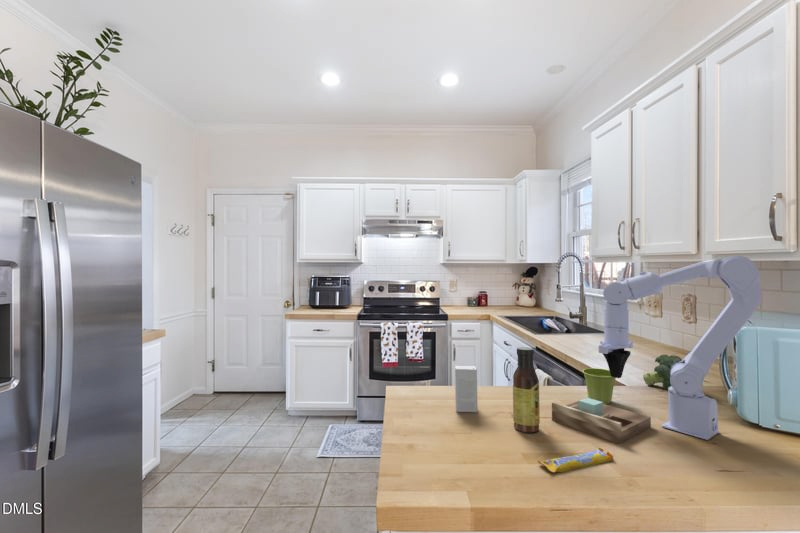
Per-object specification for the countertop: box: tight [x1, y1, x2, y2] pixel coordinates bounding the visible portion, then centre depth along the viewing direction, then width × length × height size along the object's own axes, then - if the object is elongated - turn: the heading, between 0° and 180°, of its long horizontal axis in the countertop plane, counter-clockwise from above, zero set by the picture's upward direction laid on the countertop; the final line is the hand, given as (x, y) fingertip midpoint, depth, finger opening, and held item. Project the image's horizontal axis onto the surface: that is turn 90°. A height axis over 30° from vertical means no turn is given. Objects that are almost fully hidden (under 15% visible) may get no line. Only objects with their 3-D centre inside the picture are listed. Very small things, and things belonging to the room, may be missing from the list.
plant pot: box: [582, 367, 617, 405], centre depth 116 cm, size 9×9×9 cm
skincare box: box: [454, 365, 479, 413], centre depth 109 cm, size 6×4×12 cm
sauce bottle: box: [512, 346, 541, 433], centre depth 96 cm, size 6×6×20 cm
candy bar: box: [537, 447, 615, 473], centre depth 79 cm, size 17×4×2 cm, turn 109°
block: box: [578, 397, 603, 416], centre depth 96 cm, size 4×4×4 cm
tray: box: [551, 400, 652, 445], centre depth 99 cm, size 17×16×4 cm
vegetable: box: [642, 354, 683, 391], centre depth 127 cm, size 12×13×15 cm
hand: (616, 377), depth 104 cm, fingers closed
